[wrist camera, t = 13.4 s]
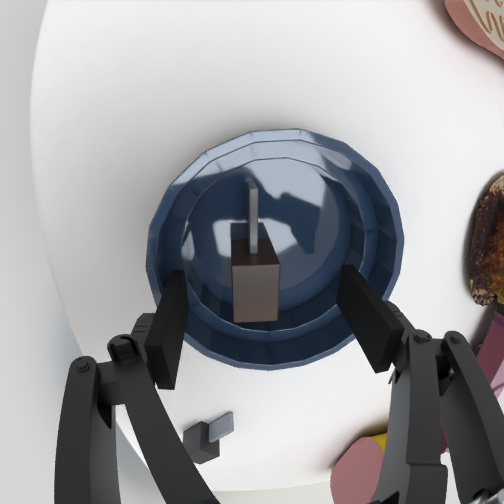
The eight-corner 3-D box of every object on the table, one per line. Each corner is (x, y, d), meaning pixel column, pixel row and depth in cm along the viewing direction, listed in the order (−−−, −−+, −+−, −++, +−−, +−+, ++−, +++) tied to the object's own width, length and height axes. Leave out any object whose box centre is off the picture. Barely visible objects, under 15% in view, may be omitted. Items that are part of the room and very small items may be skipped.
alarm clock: (370, 462, 41) (395, 533, 23) (322, 472, 39) (342, 551, 21) (415, 412, 34) (460, 499, 16) (361, 424, 32) (401, 531, 15)
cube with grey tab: (200, 438, 30) (200, 464, 26) (183, 431, 29) (181, 458, 26) (240, 416, 28) (242, 445, 25) (221, 408, 28) (222, 438, 24)
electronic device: (508, 281, 28) (552, 307, 18) (447, 415, 35) (472, 447, 25) (472, 283, 27) (525, 316, 17) (405, 431, 34) (430, 471, 24)
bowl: (158, 308, 22) (143, 352, 17) (186, 112, 16) (169, 102, 11) (329, 331, 24) (349, 373, 19) (388, 167, 19) (432, 179, 14)
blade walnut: (269, 288, 21) (277, 321, 17) (232, 290, 21) (233, 323, 17) (271, 181, 18) (283, 193, 14) (229, 182, 18) (229, 194, 14)
